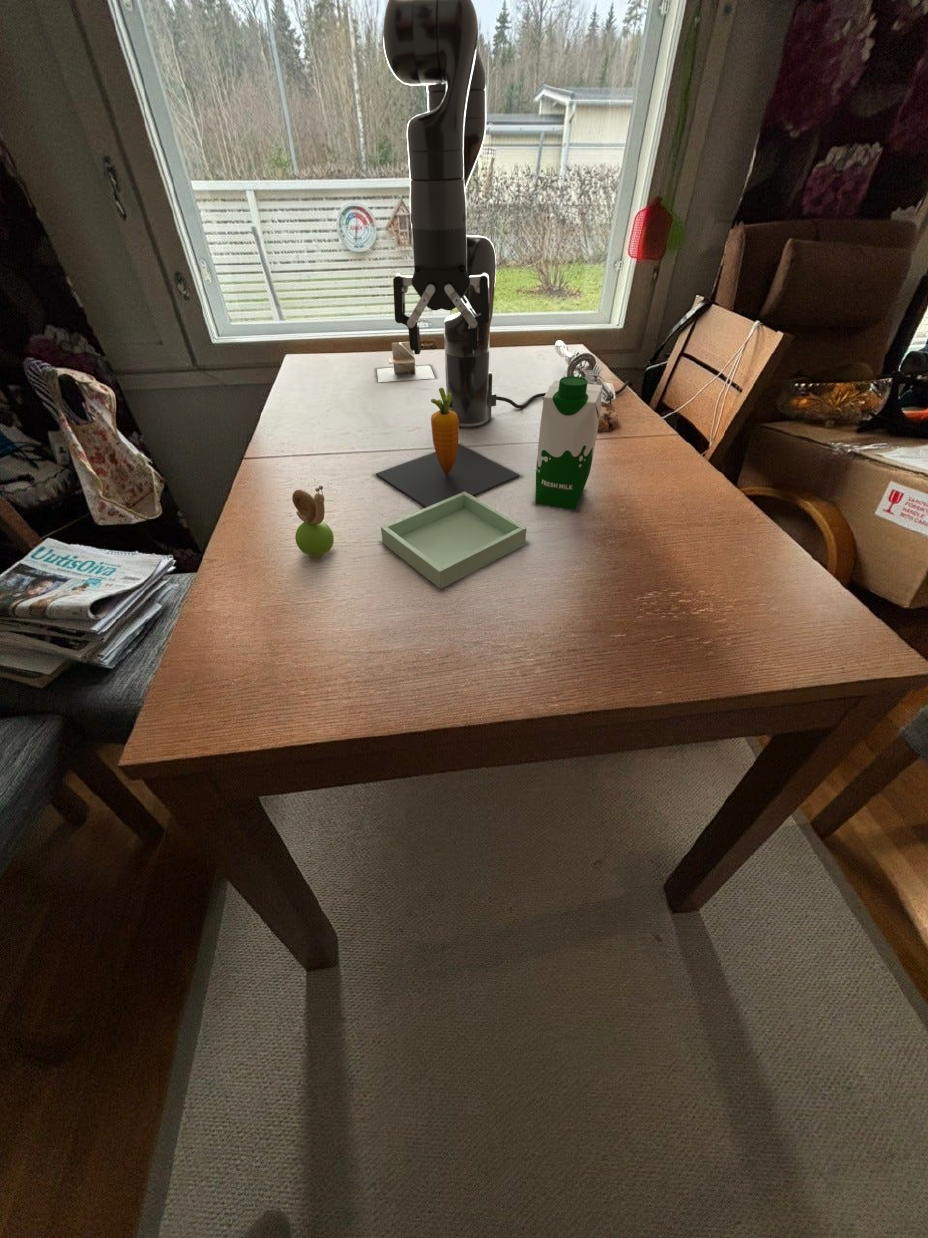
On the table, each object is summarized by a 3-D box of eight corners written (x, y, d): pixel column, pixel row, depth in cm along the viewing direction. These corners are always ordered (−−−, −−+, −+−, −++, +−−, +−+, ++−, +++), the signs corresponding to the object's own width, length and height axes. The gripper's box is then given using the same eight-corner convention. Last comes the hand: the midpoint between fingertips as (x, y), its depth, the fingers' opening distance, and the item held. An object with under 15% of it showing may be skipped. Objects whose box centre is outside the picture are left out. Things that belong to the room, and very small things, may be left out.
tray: (464, 507, 86) (464, 491, 84) (525, 544, 77) (526, 527, 75) (382, 543, 78) (380, 526, 76) (440, 589, 70) (439, 571, 68)
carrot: (457, 481, 91) (455, 396, 81) (430, 479, 92) (425, 394, 82) (462, 468, 95) (461, 385, 85) (437, 466, 96) (433, 384, 85)
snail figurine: (323, 570, 73) (305, 496, 65) (292, 556, 76) (270, 483, 67) (349, 551, 76) (334, 478, 68) (318, 539, 79) (300, 467, 71)
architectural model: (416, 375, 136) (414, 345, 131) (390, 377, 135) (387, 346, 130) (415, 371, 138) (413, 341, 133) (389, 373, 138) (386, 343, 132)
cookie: (582, 411, 116) (584, 397, 114) (625, 421, 112) (628, 407, 110) (562, 425, 111) (564, 411, 108) (607, 436, 106) (610, 422, 104)
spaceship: (574, 332, 137) (550, 322, 133) (634, 389, 114) (608, 378, 111) (559, 361, 142) (536, 352, 138) (614, 421, 119) (588, 412, 116)
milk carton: (529, 506, 86) (540, 382, 72) (540, 481, 92) (552, 363, 78) (580, 514, 83) (601, 389, 70) (588, 489, 90) (610, 369, 76)
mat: (458, 445, 104) (458, 443, 103) (519, 476, 93) (519, 474, 93) (376, 475, 94) (375, 473, 94) (434, 513, 84) (433, 511, 84)
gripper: (492, 219, 70) (490, 346, 82) (392, 220, 71) (403, 345, 83) (489, 226, 65) (488, 361, 76) (381, 227, 66) (395, 360, 77)
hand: (444, 352), depth 79 cm, fingers open, 8 cm apart
